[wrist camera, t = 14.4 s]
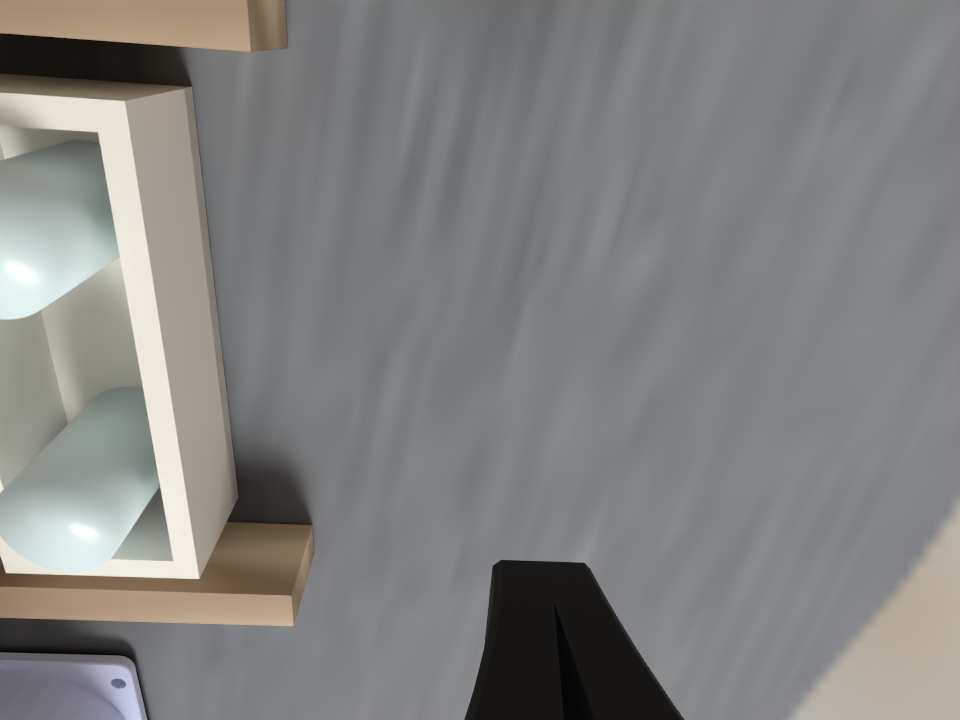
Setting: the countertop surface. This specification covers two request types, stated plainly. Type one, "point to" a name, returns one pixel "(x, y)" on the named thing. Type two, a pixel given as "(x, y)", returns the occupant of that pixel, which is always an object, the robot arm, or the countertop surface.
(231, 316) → the countertop surface
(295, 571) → the light wooden angled piece
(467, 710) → the robot arm
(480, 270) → the countertop surface
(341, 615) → the countertop surface
